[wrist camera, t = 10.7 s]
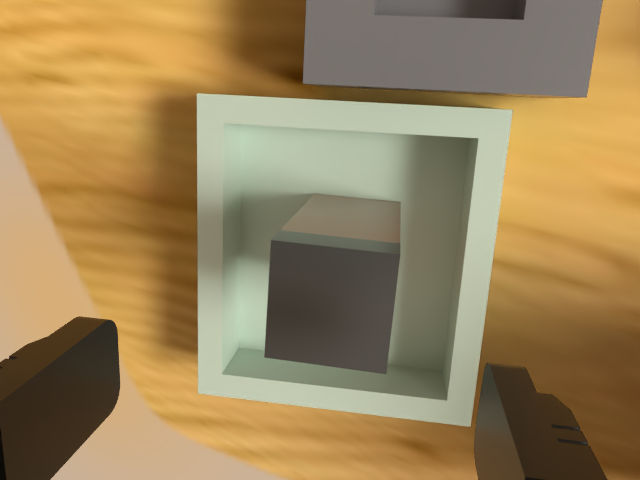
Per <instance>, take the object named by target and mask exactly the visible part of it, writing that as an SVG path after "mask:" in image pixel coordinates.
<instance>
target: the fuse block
mask: <svg viewBox="0 0 640 480" xmlns="http://www.w3.org/2000/svg"><path fill="white" fill-rule="evenodd" d="M602 1H603V0H306V18H305V43H304V67H303V84H308V85H314V86H319V87H338V88H358V89H378V90H398V91H418V92H438V93H459V94H479V95H499V96H519V97H539V98H581V97H587V92H588V86H589V80H590V74H591V68H592V62H593V56H594V50H595V44H596V38H597V32H598V25H599V19H600V13H601V7H602Z"/></svg>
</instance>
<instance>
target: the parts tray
mask: <svg viewBox="0 0 640 480" xmlns="http://www.w3.org/2000/svg"><path fill="white" fill-rule="evenodd" d="M512 112H513V110H507V109H492V108H473V107H454V106H435V105H416V104H396V103H377V102H358V101H339V100H320V99H301V98H282V97H263V96H244V95H225V94H201V93H197V246H198V394H206V395H214V396H222V397H230V398H239V399H247V400H255V401H263V402H271V403H280V404H288V405H296V406H304V407H312V408H321V409H329V410H337V411H345V412H353V413H361V414H370V415H378V416H386V417H394V418H402V419H411V420H419V421H427V422H435V423H443V424H452V425H460V426H468V427H471V420H472V412H473V405H474V397H475V390H476V382H477V375H478V367H479V360H480V352H481V345H482V337H483V330H484V322H485V315H486V307H487V300H488V292H489V285H490V277H491V270H492V262H493V255H494V247H495V240H496V232H497V225H498V217H499V210H500V202H501V195H502V187H503V180H504V172H505V165H506V157H507V150H508V142H509V135H510V127H511V120H512ZM315 193H317V194H327V195H337V196H346V197H356V198H366V199H376V200H386V201H396V202H401V234H400V262H399V271H398V279H397V288H396V296H395V305H394V313H393V321H392V330H391V338H390V347H389V355H388V364H387V372H386V374H380V373H373V372H366V371H359V370H351V369H344V368H337V367H330V366H322V365H315V364H308V363H300V362H293V361H286V360H279V359H271V358H264V354H265V336H266V319H267V301H268V283H269V266H270V248H271V239H272V238H273V237H274V236H275V235H276V234H277V233H278V232H279V231H280V230H281V229H282V228H283V227H284V226H285V225H286V223H287V222H288V221H289V220H290V219H291V218H292V217H293V216H294V215H295V214H296V213H297V212H298V211H299V210H300V209H301V208H302V206H303V205H304V204H305V203H306V202H307V201H308V200H309V199H310V198H311V197H312V196H313V195H314V194H315Z"/></svg>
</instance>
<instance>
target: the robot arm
mask: <svg viewBox="0 0 640 480" xmlns="http://www.w3.org/2000/svg"><path fill="white" fill-rule="evenodd" d="M119 390H120V372H119V352H118V333H117V327H116V324H115V323H114V322H113V321H112V320H106V319H97V318H88V317H76V318H74V319H73V320H71V321H70V322H68V323H67V324H65V325H64V326H63V327H61V328H60V329H58V330H57V331H55V332H54V333H52V334H51V335H50V336H48V337H45V338H43V339H40V340H37V341H35V342H32V343H29V344H27V345H25V346H24V347H22V348H21V349H19V350H18V351H16V352H15V353H13V354H12V355H11V356H9V359H4V360H3V361H2V362H0V480H50V479H51V478H52V477H53V476H54V475H55V474H56V473H57V472H58V470H59V469H60V468H61V467H62V466H63V465H64V464H65V463H66V462H67V461H68V460H69V458H70V457H71V456H72V455H73V454H74V453H75V452H76V451H77V450H78V449H79V448H80V446H81V445H82V444H83V443H84V442H85V441H86V440H87V439H88V438H89V437H90V435H91V434H92V433H93V432H94V431H95V430H96V429H97V428H98V427H99V426H100V425H101V423H102V422H103V421H104V420H105V419H106V418H107V417H108V416H109V415H110V413H111V412H112V411H113V409H114V407H115V405H116V403H117V400H118V396H119ZM474 454H475V464H476V469H477V474H478V480H607V478H606V476H605V474H604V472H603V470H602V468H601V467H600V465H599V463H598V461H597V459H596V457H595V455H594V453H593V451H592V449H591V448H590V446H588V442H587V440H586V438H585V436H584V434H583V432H582V431H580V427H579V425H578V423H577V421H576V419H575V417H574V415H573V413H572V411H571V410H570V409H569V408H567V407H566V406H565V405H564V404H563V403H561V402H560V401H559V400H558V399H557V398H556V397H554V396H553V395H550V394H542V393H537V392H536V389H535V387H534V385H533V383H532V380H531V378H530V376H529V374H528V371H527V369H526V368H525V367H520V366H511V365H502V364H493V363H487V364H486V366H485V369H484V374H483V380H482V387H481V394H480V401H479V408H478V415H477V422H476V429H475V441H474Z"/></svg>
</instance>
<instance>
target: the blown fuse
mask: <svg viewBox="0 0 640 480" xmlns="http://www.w3.org/2000/svg"><path fill="white" fill-rule="evenodd" d="M400 234H401V202H396V201H386V200H376V199H366V198H356V197H346V196H337V195H327V194H317V193H315V194H314V195H313V196H312V197H311V198H310V199H309V200H308V201H307V202H306V203H305V204H304V205H303V206H302V208H301V209H300V210H299V211H298V212H297V213H296V214H295V215H294V216H293V217H292V218H291V219H290V220H289V221H288V222H287V223H286V225H285V226H284V227H283V228H282V229H281V230H280V231H279V232H278V233H277V234H276V235H275V236H274V237H273V238H272V239H271V248H270V266H269V283H268V301H267V319H266V336H265V354H264V358H271V359H279V360H286V361H293V362H300V363H308V364H315V365H322V366H330V367H337V368H344V369H351V370H359V371H366V372H373V373H380V374H386V372H387V364H388V355H389V347H390V338H391V330H392V321H393V313H394V305H395V296H396V288H397V279H398V271H399V262H400Z"/></svg>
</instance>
